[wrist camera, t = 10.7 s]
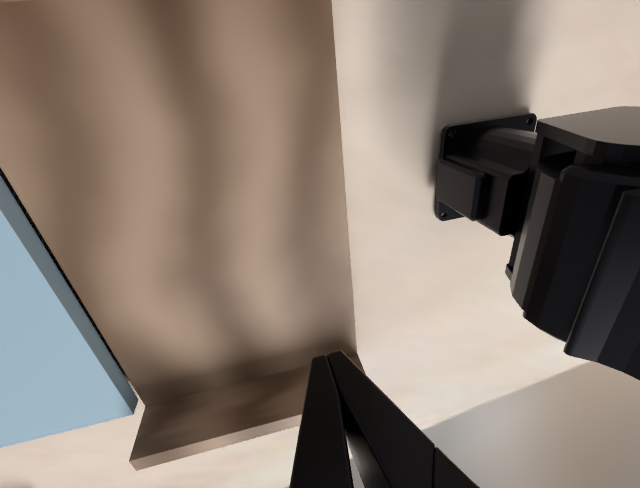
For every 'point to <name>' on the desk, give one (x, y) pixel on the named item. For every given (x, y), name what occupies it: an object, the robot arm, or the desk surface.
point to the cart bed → (188, 198)
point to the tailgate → (48, 344)
